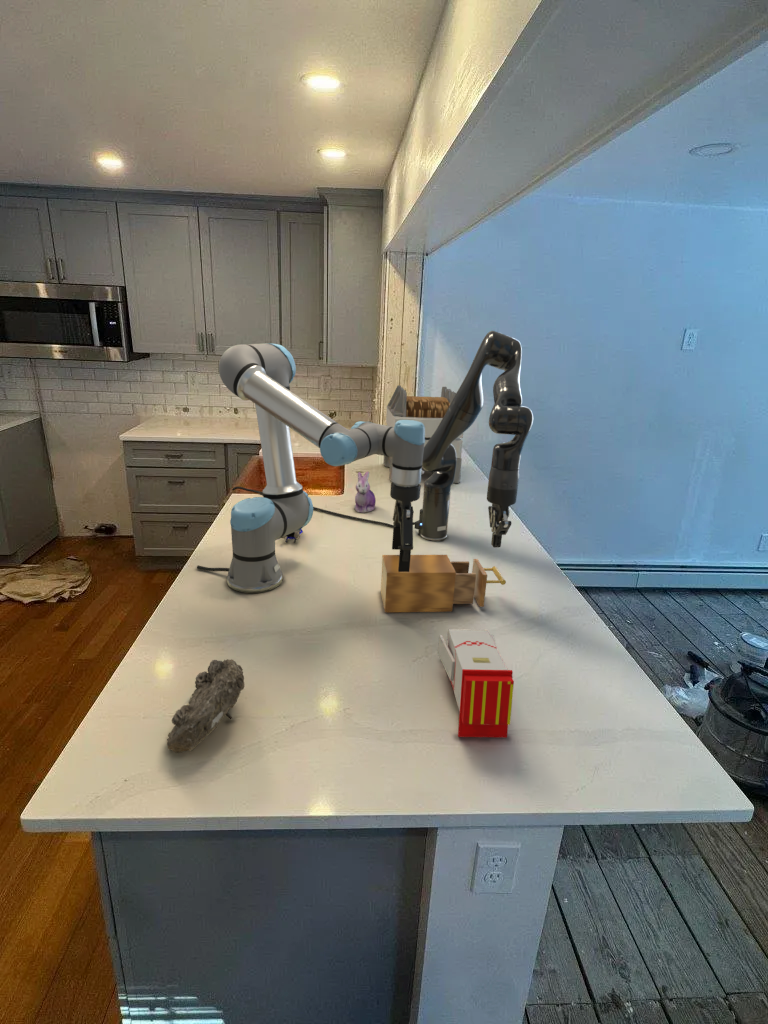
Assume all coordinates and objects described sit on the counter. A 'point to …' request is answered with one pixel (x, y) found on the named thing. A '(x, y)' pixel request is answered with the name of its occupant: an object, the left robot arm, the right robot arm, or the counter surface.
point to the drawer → (472, 582)
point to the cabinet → (418, 584)
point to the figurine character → (293, 535)
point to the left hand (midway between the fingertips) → (400, 559)
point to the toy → (478, 682)
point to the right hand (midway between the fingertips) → (495, 546)
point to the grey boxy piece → (422, 417)
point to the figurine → (364, 494)
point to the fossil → (206, 705)
